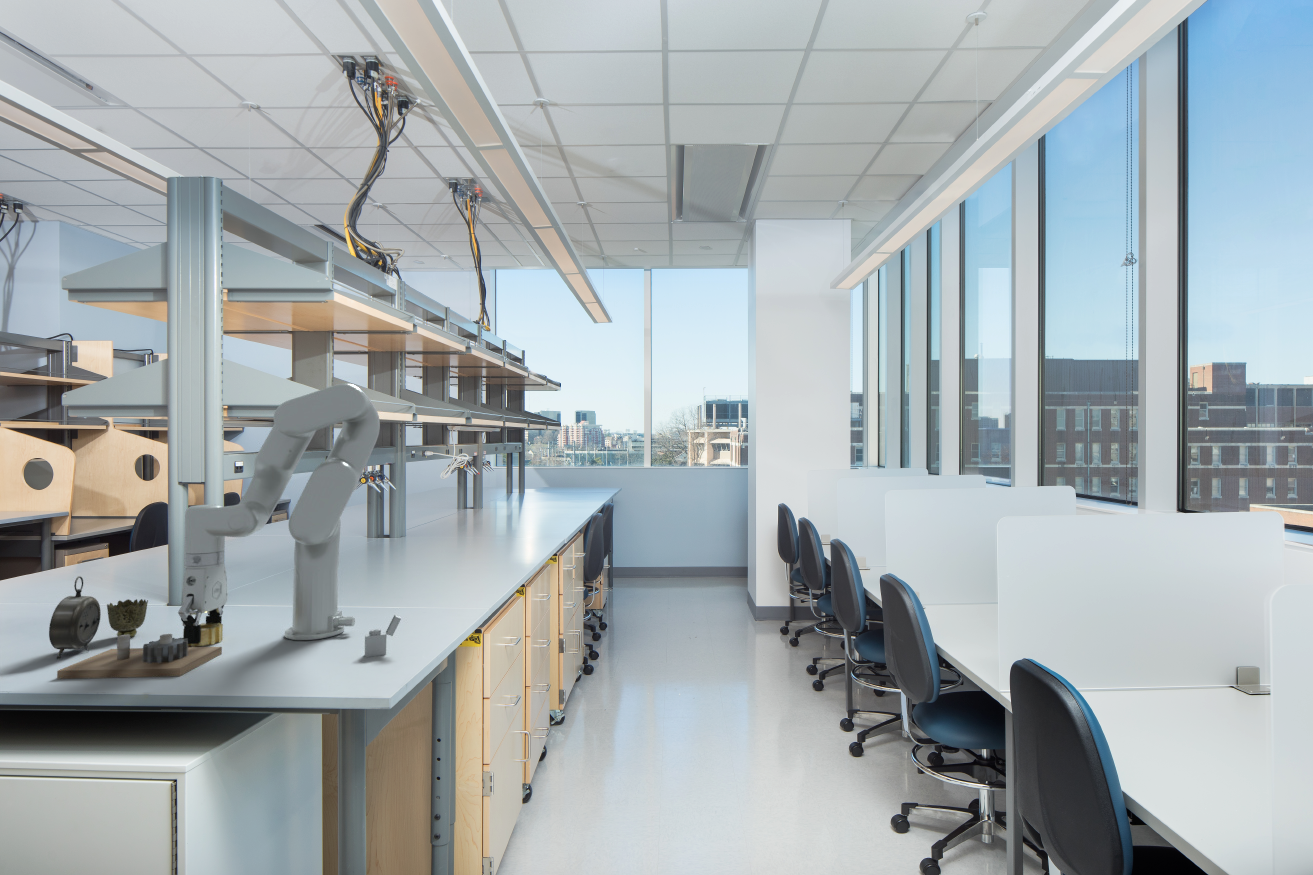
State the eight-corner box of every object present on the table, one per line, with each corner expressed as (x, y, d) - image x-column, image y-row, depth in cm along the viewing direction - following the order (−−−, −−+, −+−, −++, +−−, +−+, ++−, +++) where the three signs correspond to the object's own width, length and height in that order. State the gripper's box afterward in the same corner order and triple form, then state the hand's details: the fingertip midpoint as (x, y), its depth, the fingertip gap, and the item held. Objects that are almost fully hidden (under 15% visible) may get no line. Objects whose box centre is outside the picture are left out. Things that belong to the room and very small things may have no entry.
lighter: (365, 657, 139) (365, 619, 139) (364, 654, 140) (365, 617, 141) (400, 652, 142) (401, 615, 142) (399, 650, 144) (400, 613, 144)
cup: (123, 642, 148) (124, 606, 148) (97, 640, 150) (98, 604, 150) (155, 633, 156) (156, 599, 156) (129, 631, 157) (130, 597, 157)
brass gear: (229, 637, 152) (229, 622, 153) (210, 646, 145) (210, 630, 145) (195, 638, 152) (196, 622, 152) (175, 647, 145) (175, 631, 145)
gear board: (221, 653, 140) (222, 625, 140) (180, 675, 126) (180, 644, 127) (111, 655, 138) (112, 627, 138) (57, 678, 124) (58, 646, 125)
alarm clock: (76, 646, 145) (78, 572, 145) (105, 644, 147) (107, 571, 147) (45, 661, 135) (48, 581, 135) (77, 659, 136) (79, 580, 136)
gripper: (198, 566, 141) (197, 649, 140) (242, 553, 158) (241, 627, 158) (161, 566, 140) (159, 650, 140) (209, 553, 157) (208, 628, 157)
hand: (203, 637), depth 149 cm, fingers closed on brass gear, 7 cm apart
